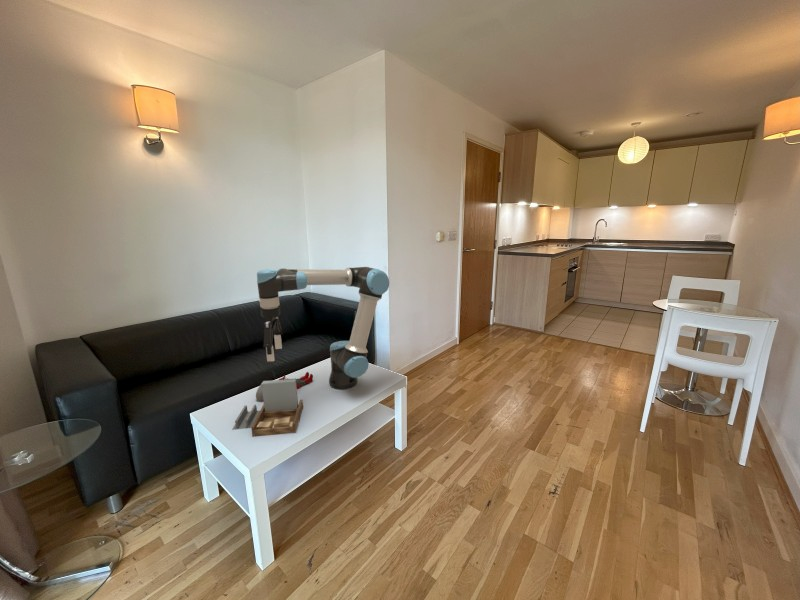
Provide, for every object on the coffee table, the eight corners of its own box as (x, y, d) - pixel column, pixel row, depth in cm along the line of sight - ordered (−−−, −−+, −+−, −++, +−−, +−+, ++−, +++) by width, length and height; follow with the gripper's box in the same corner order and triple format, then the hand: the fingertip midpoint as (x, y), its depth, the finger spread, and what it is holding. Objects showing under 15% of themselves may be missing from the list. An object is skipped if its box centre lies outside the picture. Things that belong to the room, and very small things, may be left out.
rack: (303, 409, 152) (302, 399, 151) (295, 434, 134) (294, 424, 133) (265, 412, 150) (264, 402, 149) (252, 438, 132) (251, 427, 131)
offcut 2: (290, 421, 138) (289, 417, 137) (289, 426, 135) (289, 422, 134) (275, 423, 137) (274, 419, 136) (274, 428, 133) (273, 424, 133)
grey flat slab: (298, 410, 149) (295, 378, 145) (297, 413, 147) (294, 381, 143) (267, 413, 148) (263, 381, 144) (265, 416, 145) (261, 383, 141)
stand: (242, 414, 149) (241, 405, 148) (261, 412, 150) (259, 403, 149) (232, 431, 136) (230, 422, 135) (252, 429, 137) (250, 420, 136)
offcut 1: (272, 427, 137) (271, 421, 136) (269, 433, 134) (268, 426, 133) (260, 427, 137) (260, 421, 136) (257, 433, 134) (256, 426, 133)
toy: (318, 376, 174) (264, 388, 152) (317, 393, 175) (263, 408, 153) (302, 368, 185) (249, 378, 162) (301, 384, 186) (248, 396, 163)
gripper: (268, 300, 147) (273, 344, 152) (251, 315, 123) (257, 367, 128) (285, 299, 148) (289, 343, 153) (271, 314, 124) (277, 366, 129)
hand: (275, 354), depth 140 cm, fingers open, 13 cm apart
